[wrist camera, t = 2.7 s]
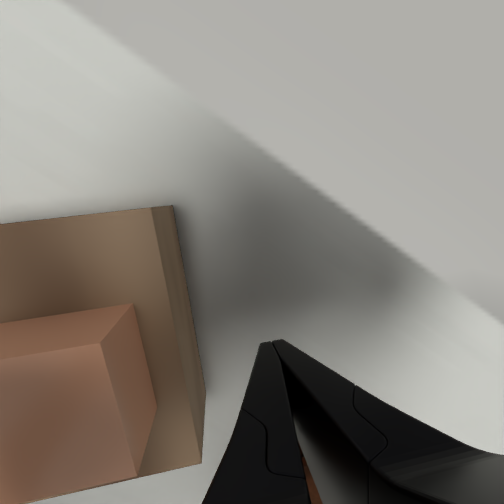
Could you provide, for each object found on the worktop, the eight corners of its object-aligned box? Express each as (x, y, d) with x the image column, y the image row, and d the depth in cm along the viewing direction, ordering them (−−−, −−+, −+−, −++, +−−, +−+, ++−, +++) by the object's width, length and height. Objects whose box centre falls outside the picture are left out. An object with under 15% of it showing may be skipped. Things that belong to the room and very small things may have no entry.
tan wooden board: (61, 421, 14) (-2, 509, 10) (-6, 225, 11) (-127, 238, 7) (205, 392, 14) (201, 463, 10) (172, 205, 12) (150, 207, 8)
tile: (35, 431, 9) (-31, 514, 7) (-6, 324, 8) (-101, 376, 6) (157, 407, 10) (137, 475, 7) (133, 303, 9) (100, 342, 6)
